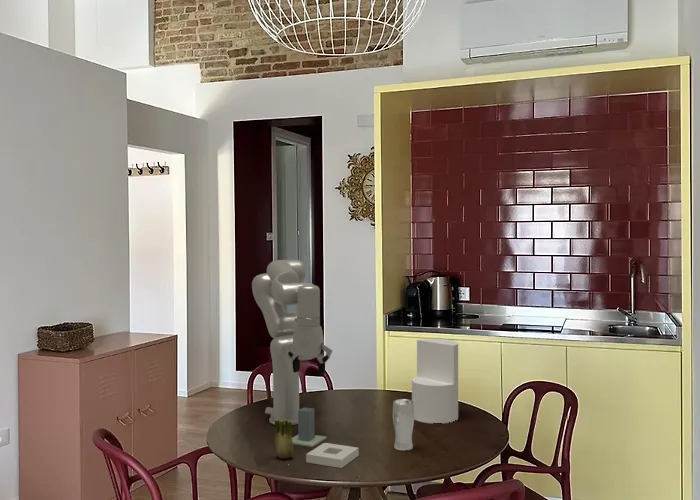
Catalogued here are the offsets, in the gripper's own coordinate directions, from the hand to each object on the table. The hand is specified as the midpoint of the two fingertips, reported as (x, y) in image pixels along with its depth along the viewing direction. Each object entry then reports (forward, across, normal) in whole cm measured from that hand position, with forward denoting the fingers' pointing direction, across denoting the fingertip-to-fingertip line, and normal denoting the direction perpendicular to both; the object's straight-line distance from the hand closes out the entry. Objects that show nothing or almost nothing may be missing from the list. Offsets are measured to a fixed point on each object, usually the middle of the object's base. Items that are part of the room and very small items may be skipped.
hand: (308, 373), depth 224 cm
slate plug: (+22, 0, -1) cm, 22 cm away
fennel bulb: (+23, +2, -18) cm, 29 cm away
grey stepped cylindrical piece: (+23, +29, +44) cm, 58 cm away
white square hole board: (+22, +16, -13) cm, 30 cm away
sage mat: (+23, 0, -1) cm, 23 cm away
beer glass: (+23, +32, +6) cm, 39 cm away
